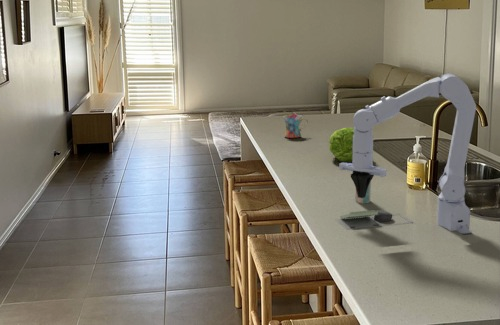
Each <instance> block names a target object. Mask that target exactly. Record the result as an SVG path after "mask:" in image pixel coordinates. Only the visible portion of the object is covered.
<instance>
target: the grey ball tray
mask: <svg viewBox="0 0 500 325" xmlns="http://www.w3.org/2000/svg"><path fill="white" fill-rule="evenodd" d="M391 214H392V213H391ZM374 216H375V215H373V216H368V217H357V218H346V219H340V218H339V219H338V218H337V219H336V222H338V223H339V224H340V225H341V226H343V227H344V228H345V229H346V230H353V229H354V230H356V229H367V228H374V227H375V228H377V227H386V226H397V225H398V226H399V225H407V224H414V222H413V221H412V220H410V219H408V218H407V217H406V216H404V215H403V214H401V213H393V214H392V216H400V217H401V218H403V219H404V220H405V221H408V222H399V223H389V224H388V223H387V224H381V222H378V221H375V220H374Z"/></svg>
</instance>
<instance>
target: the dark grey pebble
mask: <svg viewBox="0 0 500 325" xmlns="http://www.w3.org/2000/svg"><path fill="white" fill-rule="evenodd" d="M375 212H378V214H377V215H373V216H374V217H373V219H374V220H375V221H377V222H379V223H389V222H391V221H392V219H393V215H392V213H391V212H389V211H385V210H379V209H378V210H375Z"/></svg>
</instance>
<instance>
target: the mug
mask: <svg viewBox="0 0 500 325" xmlns="http://www.w3.org/2000/svg"><path fill="white" fill-rule="evenodd" d="M283 119H284V122H285V133H284V137H285V138H288V139H297V138H300V137H301V136H302V134H301V132H302V129H304V128H305V127H306V126H307V124H308V119H307V118H303V116H302V114H301V115H300V114H285V115H283ZM303 120H306V122H305V125H304V126H302V127H301V128H300V125H301V123H302V121H303Z"/></svg>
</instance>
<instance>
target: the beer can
mask: <svg viewBox="0 0 500 325" xmlns="http://www.w3.org/2000/svg"><path fill="white" fill-rule="evenodd" d="M371 182H372V181H371ZM371 182H370V184H369V186H368V189H367V192H366V196H365V197H364V198H359V197H358V194H357V190H356V189H355V199H354V201H355V202H356V203H357V204H369V203H371V188H372V187H371V185H372V183H371Z"/></svg>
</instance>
